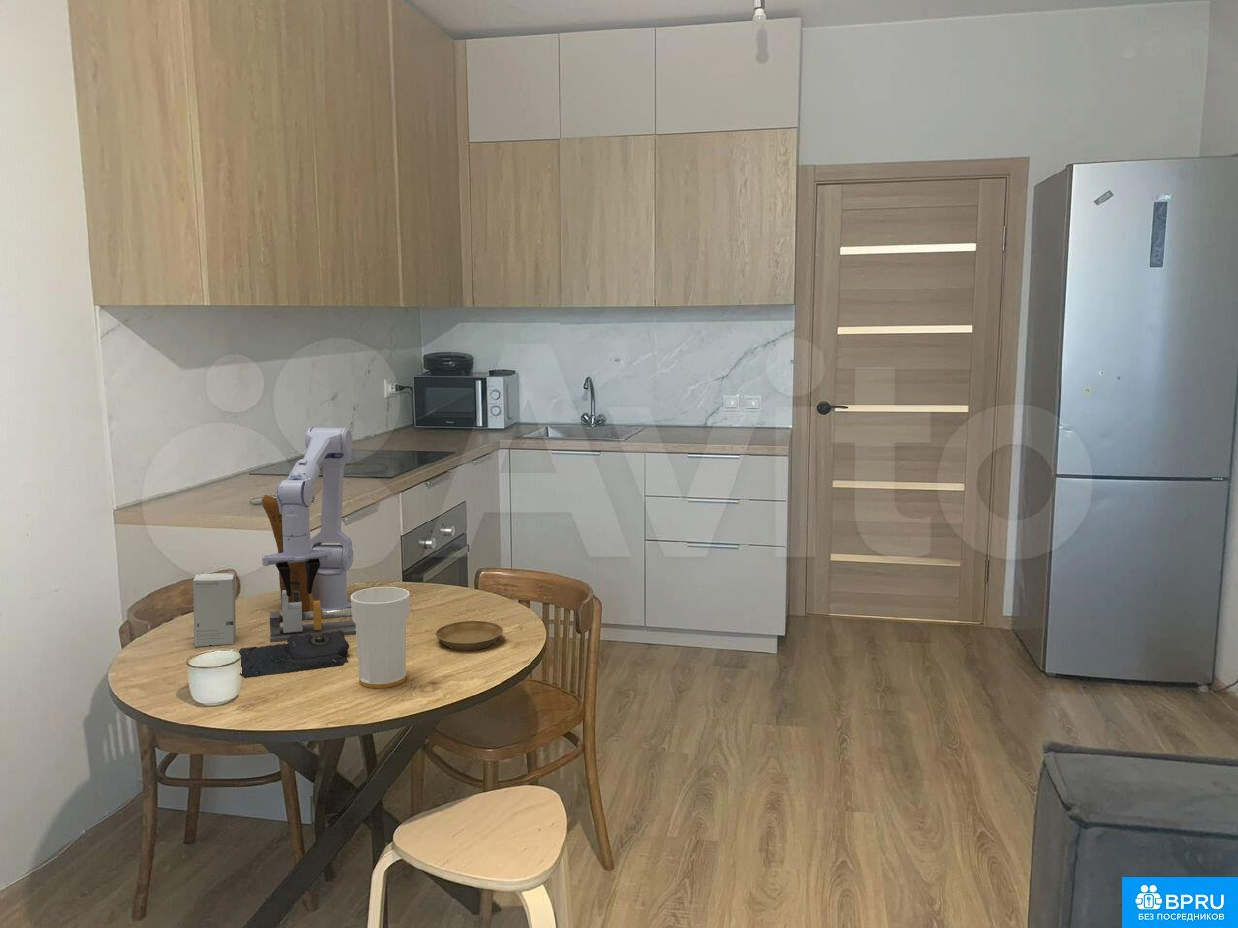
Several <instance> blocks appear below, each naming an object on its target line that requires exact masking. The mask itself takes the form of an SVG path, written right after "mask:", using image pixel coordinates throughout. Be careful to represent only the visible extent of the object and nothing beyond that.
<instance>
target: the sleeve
mask: <svg viewBox="0 0 1238 928" xmlns="http://www.w3.org/2000/svg"><path fill="white" fill-rule="evenodd" d="M281 608H282V614H283V623H282V626H283V633H288V632H299V631H303V625H304V624H303V621H302V602H294V603H288V596H287V594H286V590H282V602H281Z"/></svg>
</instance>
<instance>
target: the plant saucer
mask: <svg viewBox="0 0 1238 928" xmlns="http://www.w3.org/2000/svg"><path fill="white" fill-rule="evenodd" d="M503 632H504V629H503V627H502V626H501V625H500V624H497V623H494V622H491V621H486V620H485V621H484V620H463V621H455V622H451V623H448V624H445V625H442V626H440V627H439V628H438V629H437V630H435V632H434V633H435V636H436V638H437V639H438V640H439V642H440V643H442V644H443V645H445V647H447V648H449V649H452V650H457V651H473V650H482V649H485V648H488V647H490V646H492V645H493V644H494V643H495V642H496V641H497V640H498V639H499V638H500V637H501V635H502V634H504V633H503Z"/></svg>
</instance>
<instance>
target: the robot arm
mask: <svg viewBox="0 0 1238 928" xmlns="http://www.w3.org/2000/svg"><path fill="white" fill-rule="evenodd" d="M352 435H353V434H352V432H351V430H350V429H349V427H314V426H311V427H310V426H309V428H308V429H307V430H306V432H305V436H304V437H305V438H304V444H305V448H306V452H305V454H304V456H303V458H302V459H299V460H297V461H296V463H295V464H294V465H293V468H292V469H291V471H290V472H289V475H288V476H287V478H286V479H283V480H282V481H281V482H280V481H279V482H278V484H277V487H276V491H275V492H276V494H275V498H276V499H277V503H278V505H279V512H280V514H282V530H283V553H278V552H277V553H274V554H273V553H272V554H266V555H262V556H261V564H262V567H269V566H273V565H274V566H275V567H276V569H277V570H278V574H279V573H280V575H281V577H282V579H283V582H284V585H285V588H286V594H287V596H291V587H290V568H289V565H288V563H294V562H303V561H305V563H306V574H307V584H306V588H307V593H308V594H311V593H312V595H313V600H314V601H320V606H321V610H331V609H344V608H351V601H348V582H347V579H348V578H347V571H350V569H351V568H352V567H353V562H354V550H353V540H352V539H351V537H350V536H348V535H347V534H346V533H344V532H343V531H342V518H343V517H342V515H343V497H344V496H343V495H344V494H343V493H344V475H345V474H344V473H345V467H346V464H348V463H350V462H351V461H352V454H353V436H352ZM320 465H321V466H322V467H323V476H322V490H321V491H322V495H321V517H320V531H319V532H317V533H316V534H314V536H312V537H311V528H310V527H311V525H310V524H311V523H310V505H311V504H312V502H313V497H314V492H315V488H314V486H315V484H316V482H317V480H318V479H319V477H320V473H321V469H320ZM324 543H325V544H324ZM327 543H328V544H327ZM329 543H330V544H329ZM331 543H332V544H331ZM333 543H335V544H333Z"/></svg>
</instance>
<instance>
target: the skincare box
mask: <svg viewBox="0 0 1238 928" xmlns="http://www.w3.org/2000/svg"><path fill="white" fill-rule="evenodd" d="M192 583H193V585H192V587H193V590H192V591H193V593H192V594H193V596H192V599H193V600H192V601H193V641H194V643H193V645H194V647H195V648H199V647H210V646H209V645H212V646H221V645H234V644H235V641H236V637H237V633H236V631H237V628H236V627H237V625H236V622H237V621H236V573H235V572H234V573H233V572H230V573H227V572H225V573H222V572H221V573H219V572H218V573H217V572H216V573H201V574H200V573H198V574H195V576H194V578H193V580H192Z"/></svg>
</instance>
